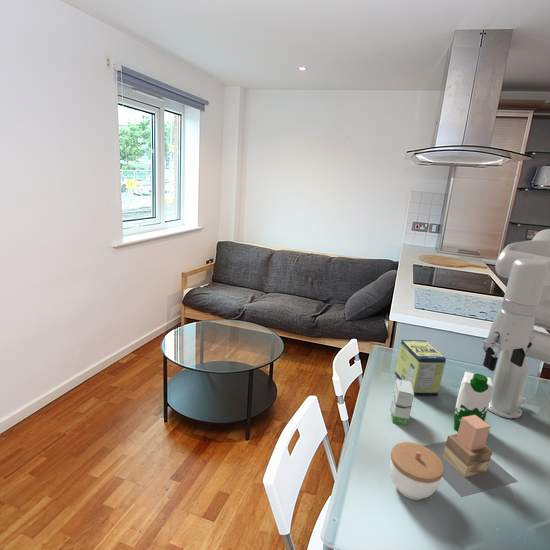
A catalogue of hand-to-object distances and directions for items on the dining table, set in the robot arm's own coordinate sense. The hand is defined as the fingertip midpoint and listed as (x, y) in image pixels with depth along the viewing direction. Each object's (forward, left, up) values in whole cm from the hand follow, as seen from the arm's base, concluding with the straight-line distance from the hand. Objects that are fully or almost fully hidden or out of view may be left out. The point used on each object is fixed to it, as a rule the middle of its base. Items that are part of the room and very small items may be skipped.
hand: (502, 366), depth 103 cm
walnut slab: (+5, +1, -27) cm, 27 cm away
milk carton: (-9, -12, -31) cm, 34 cm away
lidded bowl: (+26, +4, -31) cm, 40 cm away
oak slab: (+5, +1, -30) cm, 31 cm away
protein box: (-10, -38, -31) cm, 50 cm away
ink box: (+10, -22, -31) cm, 39 cm away
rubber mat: (+5, +1, -31) cm, 31 cm away
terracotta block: (+5, +1, -23) cm, 24 cm away
